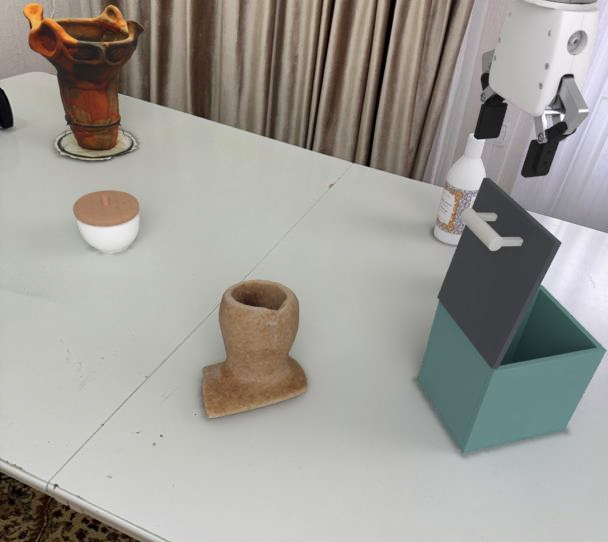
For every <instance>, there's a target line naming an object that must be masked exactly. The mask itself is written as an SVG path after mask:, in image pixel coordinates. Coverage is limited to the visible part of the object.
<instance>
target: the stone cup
mask: <svg viewBox="0 0 608 542" xmlns="http://www.w3.org/2000/svg"><path fill="white" fill-rule="evenodd" d="M299 301H300V300H299V299H298V297H297V295H296V294H295V292H294V290H292V289H290V288H289V287H288V286H286V285H284V284H282V283H280V282H276V281H271V280H266V279H249V280H243V281H240V282H237V283H234V284H233V285H232V284H231V285H230V286H229V287H227V288H226V289H225V291H224V292H223V294H222V296H221V300H220V302H219V303H220V304H219V309H218V324H219V328H220V334H221V337H222V340H223V345H224V349H225V352H226V354H225V355H226V359H225V360H224V361H221V362H218V363H215V364H211V365H207V366H206V365H205V366H204V367H202V369H201V372H202V376H203V380H202V384H201V391H202V400H203V406H204V412H205V414H206V418H207V419H216V418H221V417H227V416H231V415H236V414H240V413H244V412H248V411H253V410H255V409H260V408H264V407H267V406H271V405H274V404H278V403H282V402H284V401H287V400H290V399H291V400H292V399H294V398H297V397H299V396H301V395H302V394H304V393H306V391H307V390H308V386H309V383H308V378H307V376H306V375H307V374H306V373H305V370H304V369H303V367H302V366H301V364H300V363H299V362H298V361H297V360H296V359H294V358H293V356H291V355H289V354H290V351H291V350H292V347H293V345H294V343H295V340H296V338H297V334H298V332H299V324H300V302H299Z"/></svg>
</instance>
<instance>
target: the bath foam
mask: <svg viewBox="0 0 608 542" xmlns="http://www.w3.org/2000/svg"><path fill="white" fill-rule="evenodd" d="M485 143H486V139H481V140H477V139H476V138H474V132H472V133H469V135H468V136H467V140H466V145H465V149H464V153H463V155H462V156H460V157H459V158H457V160H456V161H455V162H454V163H453V164H452V165H451V167H450V168H449V171H448V172H447V175H446V178H445V182H444V185H443V191H442V195H441V199H440V203H439V208H438V211H437V215H436V219H435V224H434V228H433V235H434V237H435V238H436V239H437V240H438V241H440V242H442V243H444V244H447V245H453V246H457V245H458V242H459V240H460V237H461V235H462V232H463V229H464V227H465V223H464V222H463V221H462V220H461V213H462V212H463V211H464V210H465V209H467V208H472V206H473V204H474V201H475V198H476V196H477V193H478V191H479V188H480V186H481V183H482V180H483V178H487V175H486V169H485V166H484V162H483V160H482V158H481V157H482V154H483V150H484V146H485Z"/></svg>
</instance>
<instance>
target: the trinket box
mask: <svg viewBox="0 0 608 542" xmlns="http://www.w3.org/2000/svg"><path fill="white" fill-rule="evenodd" d="M72 211H73V215H74V218H75V221H76V225H77V228H78V231H79V233H80V235H81V237H82V238H83V239H84V241H85V242H86V243H87V244H88V245H89V246H91V247H92V248H94V249H95V250H98V251H99V252H102V253H108V254H111V253H118V252H119V253H120V252H122V251H124V250H126V249H127V248H128V247H129V246H131V244H133V243H134V241H135V240H136V238H137V237H138V234H139V230H140V223H141V221H140V220H141V218H140V217H141V216H140V202H139V200H138V199H137V198H136V197H135V196H134V195H132V194H131V193H128V192H125V191H121V190H111V189H109V190H108V189H107V190H106V189H105V190H98V191H93V192H90V193H87V194H84V195H82V196H81V197H79V198H78V199H77V200H76V201H75V202H74V204H73V206H72Z"/></svg>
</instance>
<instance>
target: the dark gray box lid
mask: <svg viewBox="0 0 608 542" xmlns="http://www.w3.org/2000/svg"><path fill="white" fill-rule="evenodd" d="M461 220H462V221H463V222H464V223H465V227H464V229H463V232H462V235H461V237H460V240H459V242H458V245H456V247H455V250H454V252H453V256H452V258H451V261H450V263H449V266H448V268H447V271H446V273H445V276H444V279H443V281H442V283H441V286H440V289H439V291H438V294H437V296H436V298H437V299H438V302H439V301H440V302H441V303H442V304H443V306H444V307H445V308H446V310H447V311H448V312H449V314H450V315H451V316H452V317H453V319H454V320H455V321H456V323H457V324H458V325H459V327H460V328H461V329H462V330H463V332H464V333H465V334H466V336H467V337H468V338H469V340H470V341H471V342H472V344H473V345H474V346H475V347H476V349H477V350H478V351H479V353H480V354H481V355H482V357H483V358H484V359H485V360H486V362H487V363H488V364H489V366H490V367H491V368H492V369H498V367H499V365H500V363H501V361H502V359H503V357H504V355H505V353H506V352H507V350H508V348H509V346H510V344H511V342H512V340H513V338H514V336H515V334H516V332H517V330H518V328H519V326H520V324H521V322H522V320H523V318H524V316H525V314H526V312H527V310H528V308H529V306H530V304H531V302H532V300H533V298H534V297H535V295H536V293H537V291H538V289H539V287H540V285H542V283H543V281H544V279H545V278H546V277H545V276H546V275H547V273H548V271H549V269H550V267H551V265H552V264H553V261H554V259H555V257H556V256H557V254H558V251H559V249H560V247H561V246H562V244H563V243H562V241H561V240H560V239H559V238H557V237H556V236H555V235H554V234H553V233H552V232H551V231H550V230H549V229H547V228H546V227H545V226H544V225H543V224H541V223H540V222H539V221H538V219H536V217H534V216H533V215H532V214H531V213H529V212H528V211H527V210H526V209H525V208H524V207H523V206H522V205H521V204H519V203H518V202H517V201H516V200H515V199H514V198H513V197H512V196H510V195H509V194H508V193H507V192H506V191H505V190H504V189H503V188H501V187H500V186H499V185H498V184H497V183H496V182H495V181H493V180H492V179H491V178H490V177H486V178H483V180H482V183H481V186H480V188H479V191H478V193H477V196H476V198H475V201H474V204H473V206H472V208H467V209H465V210H464V211H463V212H462V213H461Z"/></svg>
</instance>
